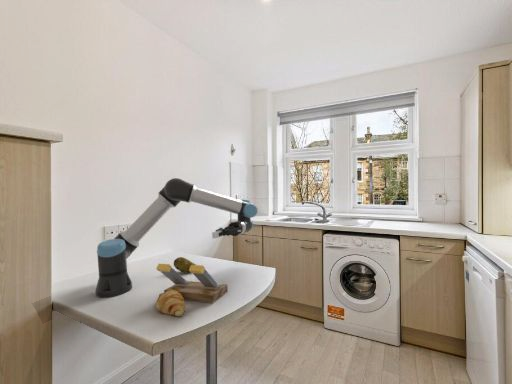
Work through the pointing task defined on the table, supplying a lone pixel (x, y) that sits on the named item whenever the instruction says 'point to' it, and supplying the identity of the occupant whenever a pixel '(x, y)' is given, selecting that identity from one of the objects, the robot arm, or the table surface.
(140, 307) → the table surface
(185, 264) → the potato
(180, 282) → the lever
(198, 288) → the wooden base board
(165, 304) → the croissant
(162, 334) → the table surface
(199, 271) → the lever
